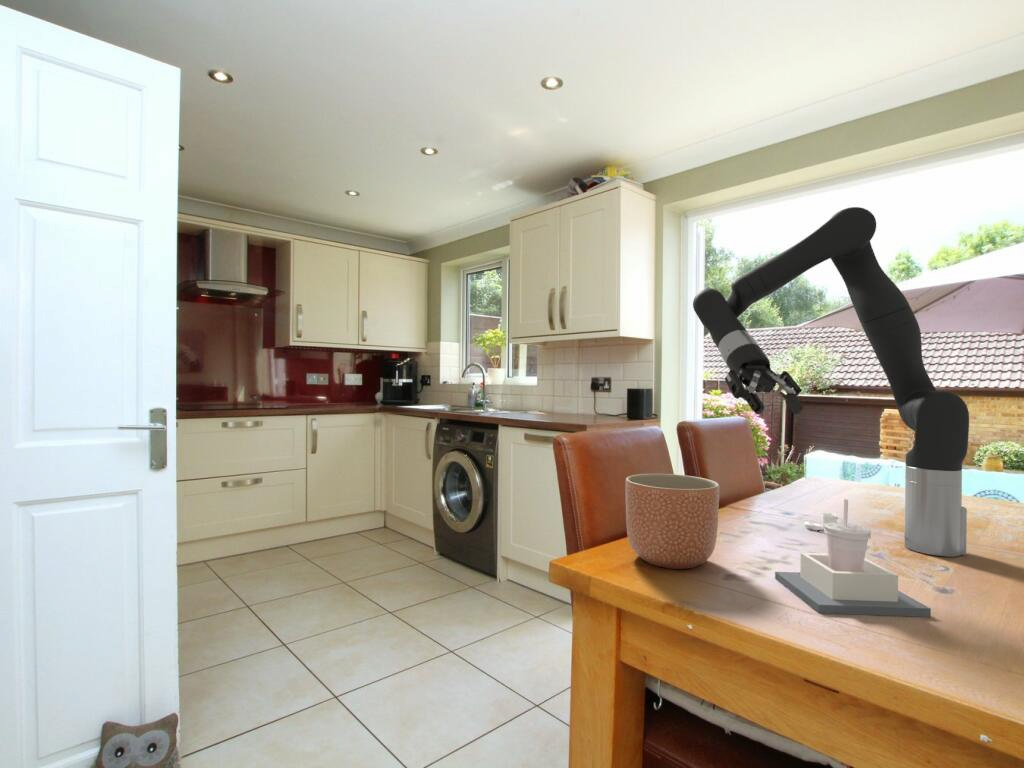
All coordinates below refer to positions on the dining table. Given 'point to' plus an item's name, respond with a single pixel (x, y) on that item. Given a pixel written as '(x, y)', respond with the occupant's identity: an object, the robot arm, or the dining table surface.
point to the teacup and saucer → (825, 519)
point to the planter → (672, 518)
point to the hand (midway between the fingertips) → (780, 411)
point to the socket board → (849, 589)
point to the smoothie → (846, 544)
